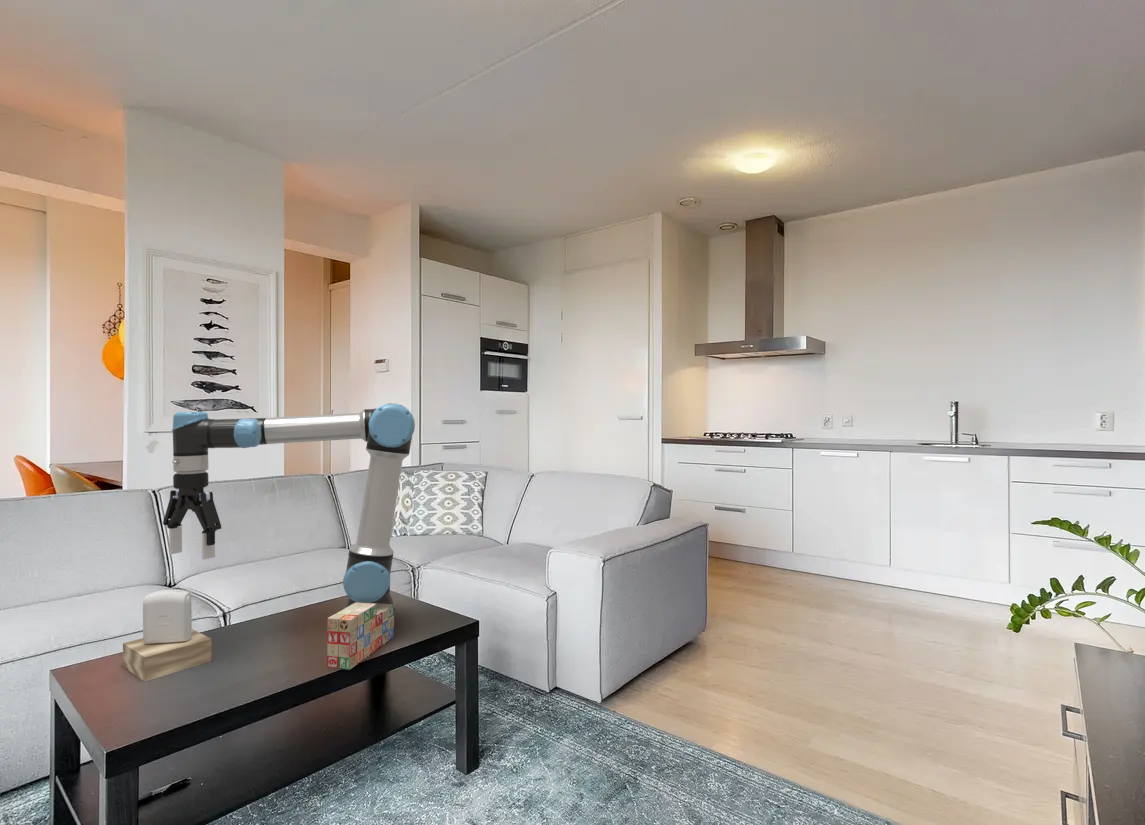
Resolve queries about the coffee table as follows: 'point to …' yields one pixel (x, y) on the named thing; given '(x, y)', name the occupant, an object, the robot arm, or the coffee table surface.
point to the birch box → (165, 656)
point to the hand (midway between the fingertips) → (191, 555)
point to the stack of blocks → (358, 633)
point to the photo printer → (167, 617)
